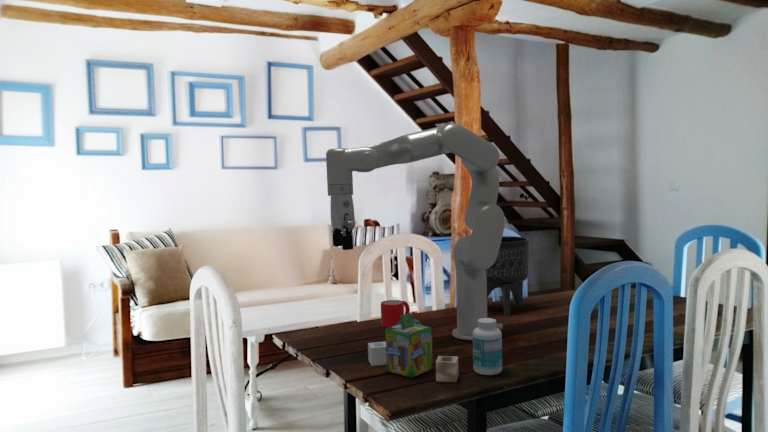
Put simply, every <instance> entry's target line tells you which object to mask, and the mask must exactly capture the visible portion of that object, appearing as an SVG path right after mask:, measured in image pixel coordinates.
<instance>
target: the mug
mask: <svg viewBox="0 0 768 432" xmlns="http://www.w3.org/2000/svg"><path fill="white" fill-rule="evenodd" d="M410 310H411V309H410V305H409V303H408V302H407V301H405V300H401V299H400V300H399V299H389V300H383V301H381V302H380V320H381V321H380V325H381V327H382V326H383V327H382V328H385V327H386V328H385V329H387V328H389V327H392V326H396V323H397V321H399V320H400V316H403V315H406V314H409V313H410V312H411V311H410Z"/></svg>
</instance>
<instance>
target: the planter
mask: <svg viewBox="0 0 768 432" xmlns="http://www.w3.org/2000/svg"><path fill="white" fill-rule="evenodd" d="M529 259H530V239H529V238H528V237H523V236H506V235H503V236H502V240H501V244H500V248H499V252H498V256H497V258H496V261H495V262H494V264H493V265H492V266H491V267H490V268H488V269H486V277H487V301H488V299H489V296H490V294H491V293H492V292H493V291H494V290H495V289H498V288H500V289H501V295H502V303H503V304H502V305H503V315H504V316H506V317H507V316H511V294H512V296H513V300H514V306H515V308H518V309H520V308H523V302H524V301H523V299H524V297H523V296H524V293H523V292H524V291H523V290H524V282H525V281H526V280H527V279H528V278H529V263H530V262H529V261H530V260H529Z"/></svg>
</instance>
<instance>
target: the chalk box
mask: <svg viewBox="0 0 768 432" xmlns="http://www.w3.org/2000/svg"><path fill="white" fill-rule="evenodd" d="M412 318H413V316H412V314H411V313H410V312H409V314H406V315H405V314H404V315H403V316H400V321H401V324H399V325H396V326H392V327H389V328H385V329H384V331H385V333H384V334H385V335H384V337H385V342H386V365H385V366H386V372H388V373H392V374H395V375H400V376H404V377H408V378H412V379H413V378H415V377H417V376H419V375H421V374H425V373H427V372H431V371H433V369H434V368H433V367H434V366H433V362H434V360H433V328H432V327H431V326H426V325H423V324H422V325H423V326H422V325H419V324H413V320H412ZM405 319H409V321H410V322H409V323H404V320H405Z"/></svg>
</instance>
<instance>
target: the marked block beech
mask: <svg viewBox="0 0 768 432" xmlns="http://www.w3.org/2000/svg"><path fill="white" fill-rule="evenodd" d="M459 375H460V374H459V356H455V355H454V356H452V355H451V356H449V355H448V356H447V355H438V356H437V359H436V361H435V381H436V382H443V383H457V381H458V378H459Z"/></svg>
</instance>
